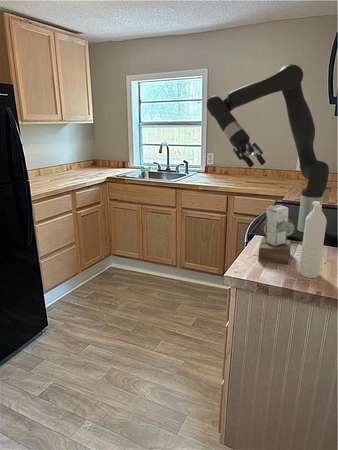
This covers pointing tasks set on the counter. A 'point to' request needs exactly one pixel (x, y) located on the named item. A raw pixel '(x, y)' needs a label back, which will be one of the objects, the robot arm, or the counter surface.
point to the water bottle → (313, 242)
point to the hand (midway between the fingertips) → (258, 164)
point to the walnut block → (274, 252)
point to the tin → (290, 228)
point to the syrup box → (276, 225)
